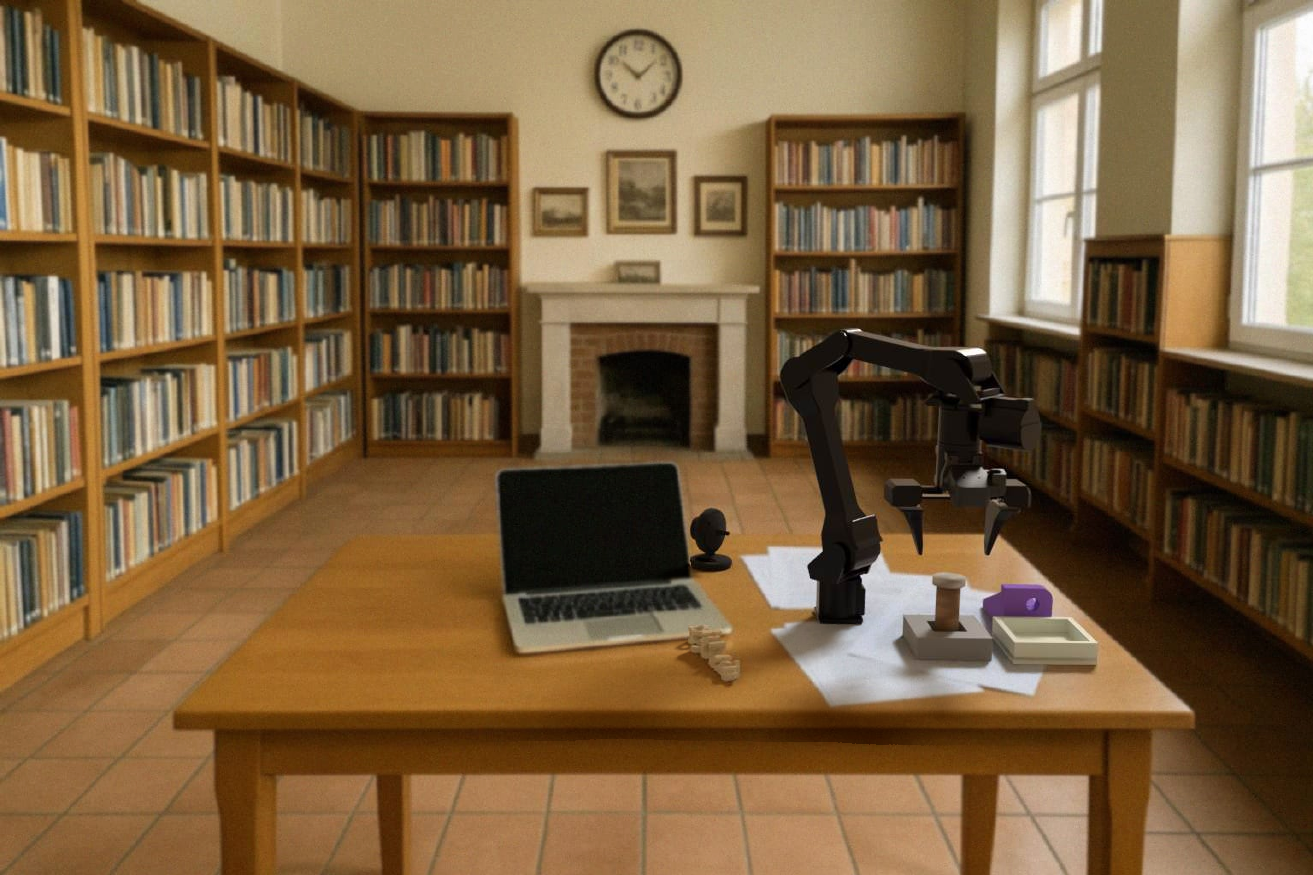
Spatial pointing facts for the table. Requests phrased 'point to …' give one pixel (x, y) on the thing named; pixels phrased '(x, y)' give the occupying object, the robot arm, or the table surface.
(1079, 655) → the tray
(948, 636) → the holder
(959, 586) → the peg
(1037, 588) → the bracket
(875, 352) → the robot arm
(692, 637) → the decorative script
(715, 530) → the webcam
